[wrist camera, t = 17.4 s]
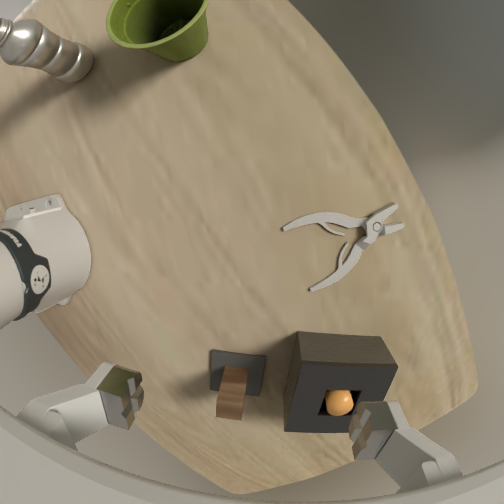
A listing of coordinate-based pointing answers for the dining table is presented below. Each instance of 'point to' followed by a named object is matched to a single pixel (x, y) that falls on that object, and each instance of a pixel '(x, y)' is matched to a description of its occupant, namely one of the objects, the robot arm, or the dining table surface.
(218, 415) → the wood grain block
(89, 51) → the silver metal bottle
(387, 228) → the pliers
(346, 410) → the egg
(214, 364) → the pad
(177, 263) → the dining table surface
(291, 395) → the box
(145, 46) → the plant pot
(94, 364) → the dining table surface
